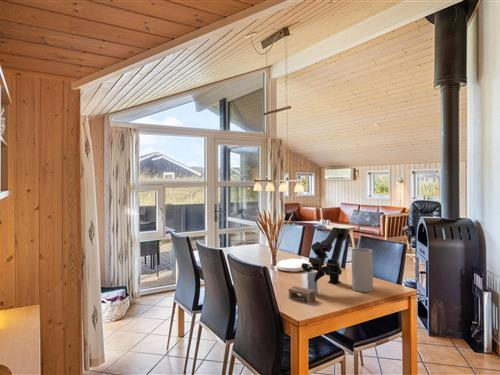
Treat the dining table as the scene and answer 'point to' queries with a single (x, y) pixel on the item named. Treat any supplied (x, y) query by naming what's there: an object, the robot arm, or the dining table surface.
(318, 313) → the dining table surface
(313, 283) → the tall grey prism
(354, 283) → the cylinder vase
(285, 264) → the plate
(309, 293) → the brown hollow brick
